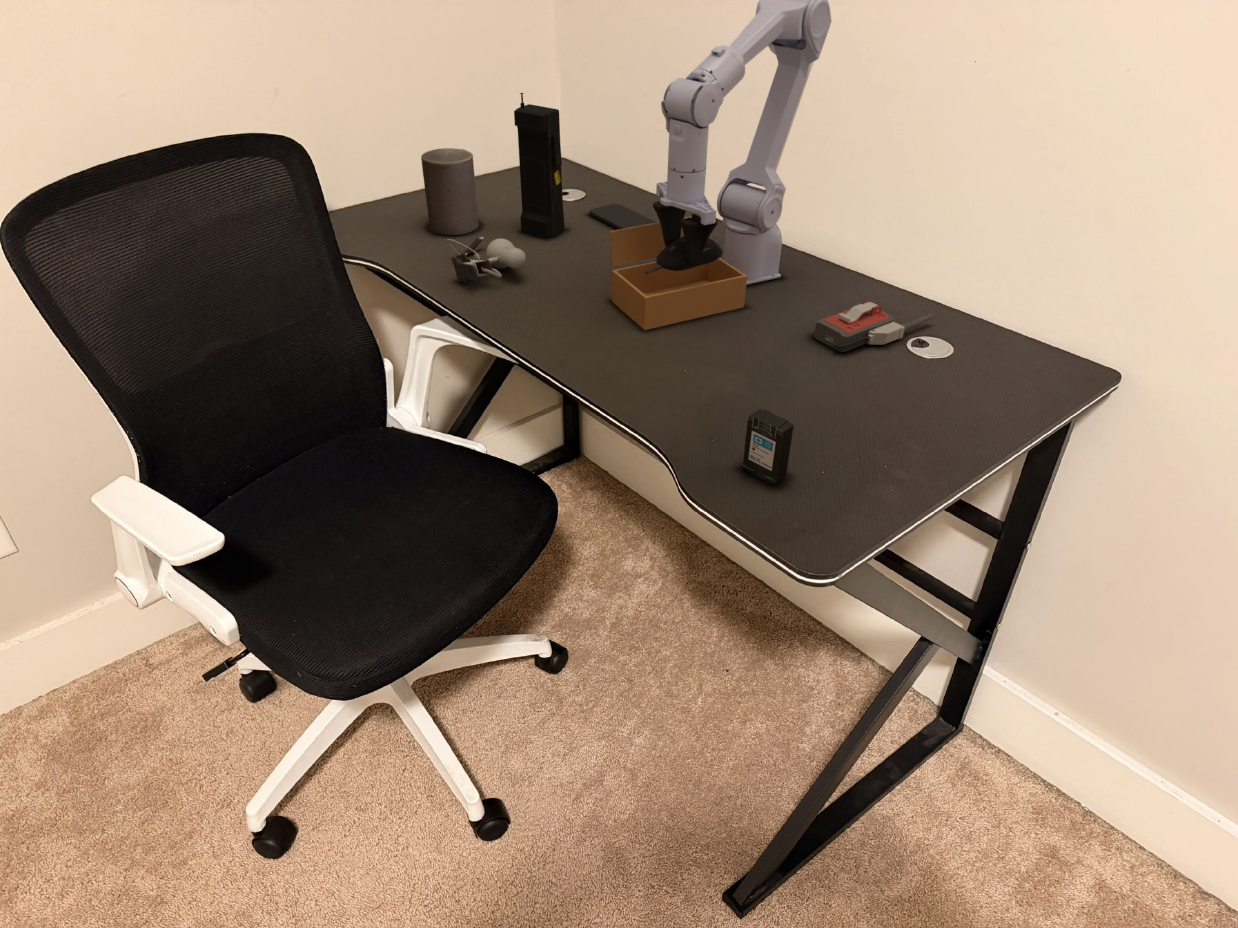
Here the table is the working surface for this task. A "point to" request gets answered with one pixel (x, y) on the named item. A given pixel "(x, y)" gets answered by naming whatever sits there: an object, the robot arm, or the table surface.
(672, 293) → the carton
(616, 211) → the phone
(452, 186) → the pillar candle
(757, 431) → the ink cartridge
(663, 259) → the gaming mouse
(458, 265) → the clip-on lamp
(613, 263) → the flap
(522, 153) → the portable radio
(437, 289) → the table surface
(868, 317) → the walkie-talkie
